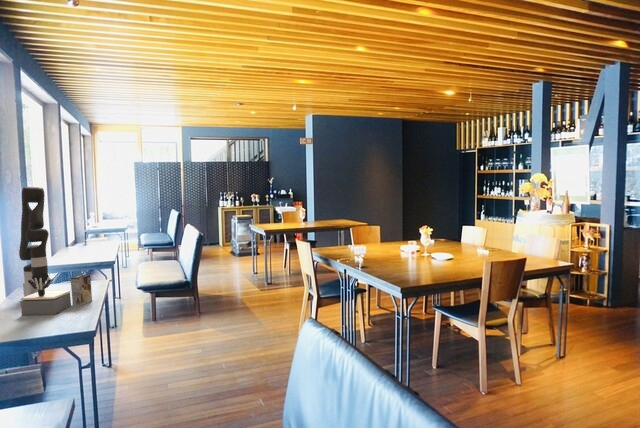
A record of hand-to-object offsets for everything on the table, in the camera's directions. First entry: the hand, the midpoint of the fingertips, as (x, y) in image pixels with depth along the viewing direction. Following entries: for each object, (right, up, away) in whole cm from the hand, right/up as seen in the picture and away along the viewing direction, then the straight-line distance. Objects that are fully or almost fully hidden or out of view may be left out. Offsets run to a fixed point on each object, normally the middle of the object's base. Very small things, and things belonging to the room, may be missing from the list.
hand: (41, 296), depth 243 cm
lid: (0, -1, +4) cm, 4 cm away
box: (0, -9, +5) cm, 11 cm away
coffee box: (+12, -8, +20) cm, 25 cm away
